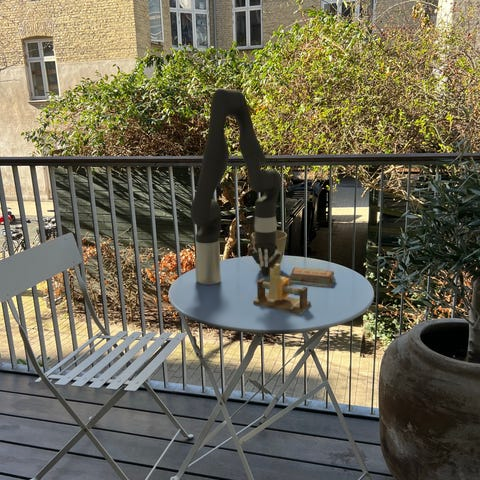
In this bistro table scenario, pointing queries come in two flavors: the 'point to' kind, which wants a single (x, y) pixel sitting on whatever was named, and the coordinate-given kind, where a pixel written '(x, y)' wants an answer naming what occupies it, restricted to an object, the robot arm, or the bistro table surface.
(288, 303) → the pipe board
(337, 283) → the bistro table surface
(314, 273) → the packaged product
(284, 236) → the plant pot
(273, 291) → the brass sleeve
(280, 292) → the orange upright board
